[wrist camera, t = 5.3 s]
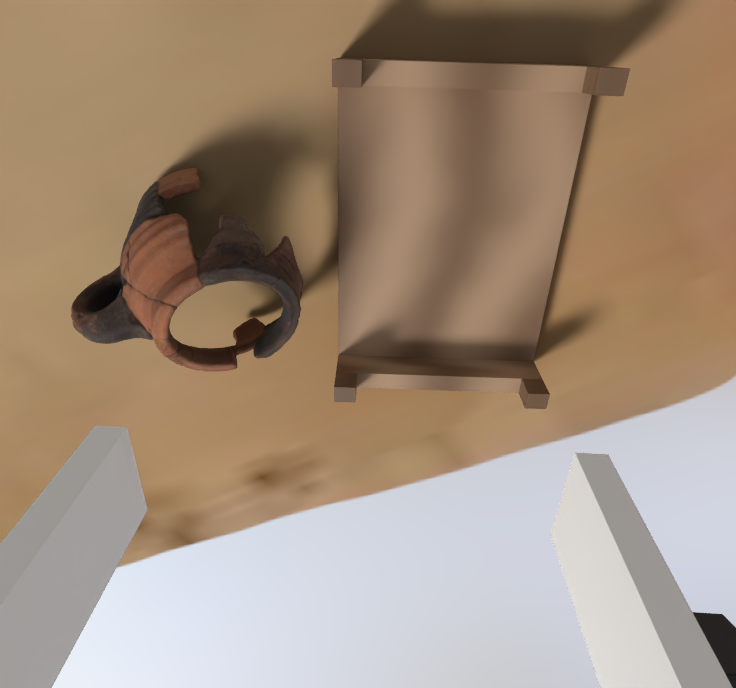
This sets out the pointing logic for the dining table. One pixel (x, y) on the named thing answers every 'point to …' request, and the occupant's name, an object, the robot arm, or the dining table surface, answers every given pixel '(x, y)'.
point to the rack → (453, 217)
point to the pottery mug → (186, 282)
